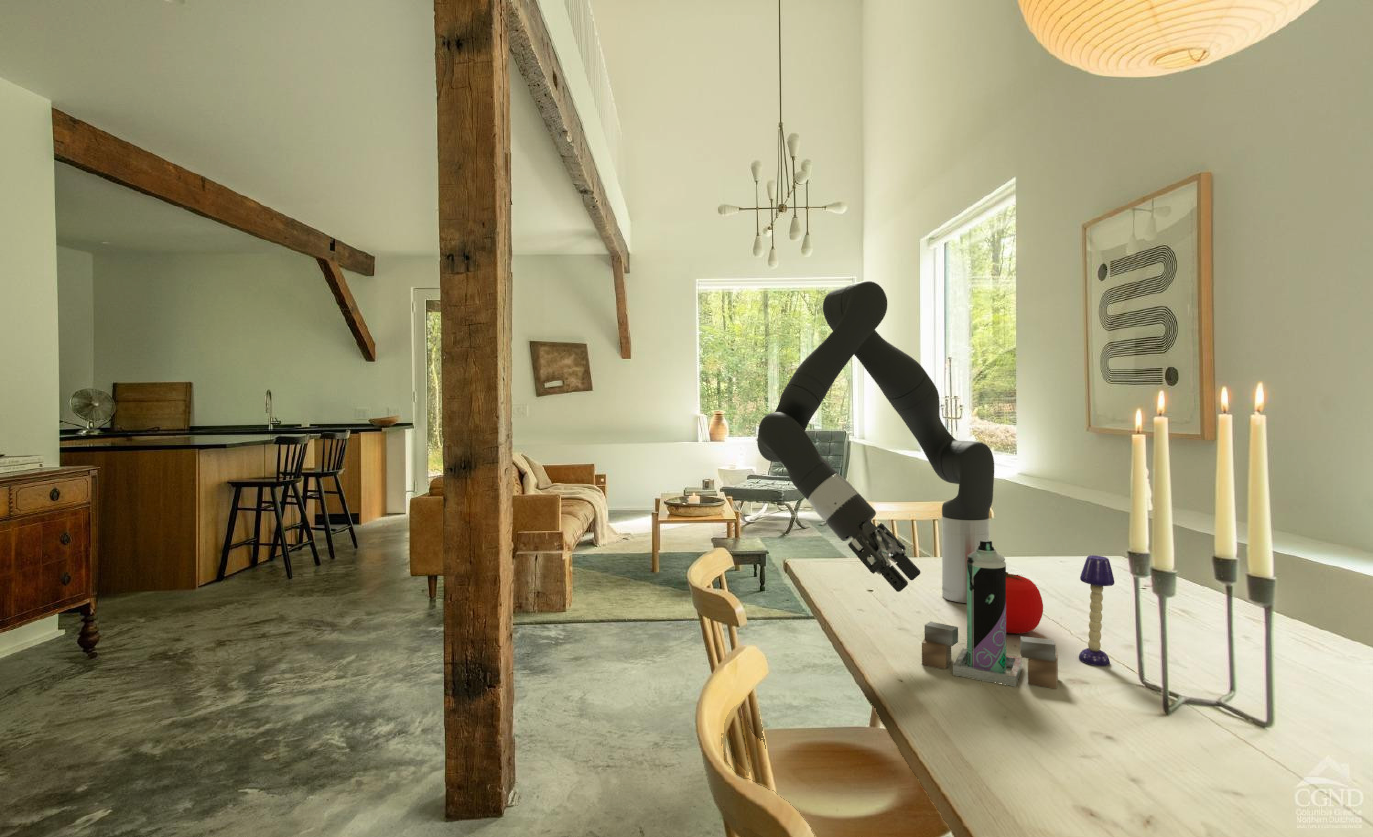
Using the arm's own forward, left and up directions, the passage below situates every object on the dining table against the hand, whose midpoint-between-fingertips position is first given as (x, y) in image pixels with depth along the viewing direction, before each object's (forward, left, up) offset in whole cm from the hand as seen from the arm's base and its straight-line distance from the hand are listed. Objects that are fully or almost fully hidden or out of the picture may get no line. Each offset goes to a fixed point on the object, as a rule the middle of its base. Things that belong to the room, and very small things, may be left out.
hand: (910, 582), depth 111 cm
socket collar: (-8, +8, -12) cm, 17 cm away
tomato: (-24, -8, -12) cm, 28 cm away
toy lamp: (-27, +9, -12) cm, 31 cm away
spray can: (-8, +8, -12) cm, 17 cm away
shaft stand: (-8, +8, -12) cm, 17 cm away
